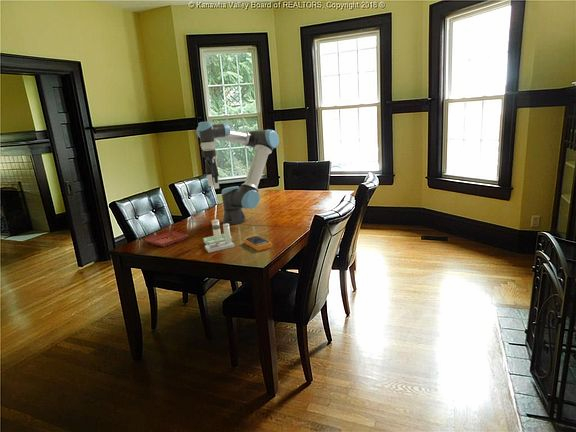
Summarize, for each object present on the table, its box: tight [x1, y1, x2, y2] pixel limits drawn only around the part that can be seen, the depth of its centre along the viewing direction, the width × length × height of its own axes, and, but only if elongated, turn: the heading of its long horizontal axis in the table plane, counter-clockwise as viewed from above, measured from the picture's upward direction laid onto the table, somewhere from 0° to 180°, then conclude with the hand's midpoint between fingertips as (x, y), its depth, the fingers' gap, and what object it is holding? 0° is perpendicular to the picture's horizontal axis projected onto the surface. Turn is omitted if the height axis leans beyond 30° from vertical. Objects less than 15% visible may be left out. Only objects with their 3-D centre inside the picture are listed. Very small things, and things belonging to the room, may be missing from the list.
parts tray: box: [202, 233, 234, 246], centre depth 209 cm, size 14×10×2 cm
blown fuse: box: [211, 218, 222, 241], centre depth 208 cm, size 4×4×12 cm
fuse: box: [222, 223, 232, 244], centre depth 200 cm, size 3×3×12 cm
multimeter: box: [244, 234, 273, 252], centre depth 198 cm, size 9×18×3 cm, turn 30°
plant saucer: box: [145, 230, 189, 248], centre depth 219 cm, size 18×18×3 cm
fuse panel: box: [204, 241, 235, 254], centre depth 200 cm, size 14×8×2 cm, turn 116°
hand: (213, 187), depth 216 cm, fingers open, 13 cm apart
